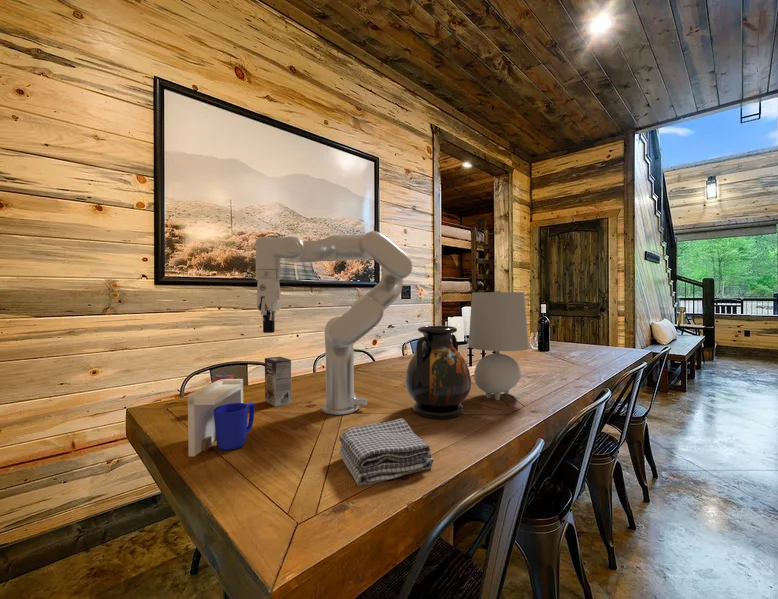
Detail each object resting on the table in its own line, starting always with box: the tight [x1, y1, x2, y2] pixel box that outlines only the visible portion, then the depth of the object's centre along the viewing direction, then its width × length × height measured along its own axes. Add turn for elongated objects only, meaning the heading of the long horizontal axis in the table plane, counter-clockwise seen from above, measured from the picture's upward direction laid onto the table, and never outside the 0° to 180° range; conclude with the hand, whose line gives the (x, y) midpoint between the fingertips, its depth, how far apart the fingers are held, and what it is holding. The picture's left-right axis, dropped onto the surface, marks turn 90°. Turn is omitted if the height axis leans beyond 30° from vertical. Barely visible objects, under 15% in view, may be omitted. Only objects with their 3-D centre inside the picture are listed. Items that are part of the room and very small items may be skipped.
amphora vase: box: [404, 325, 472, 420], centre depth 116 cm, size 22×22×28 cm
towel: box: [338, 418, 434, 487], centre depth 80 cm, size 15×18×8 cm
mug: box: [214, 402, 255, 451], centre depth 92 cm, size 8×12×10 cm
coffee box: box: [264, 356, 292, 408], centre depth 127 cm, size 9×6×16 cm
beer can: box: [212, 372, 235, 383], centre depth 120 cm, size 7×7×12 cm
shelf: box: [187, 378, 244, 457], centre depth 92 cm, size 6×16×15 cm, turn 179°
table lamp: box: [468, 290, 530, 401], centre depth 131 cm, size 23×22×40 cm
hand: (268, 332), depth 113 cm, fingers closed
